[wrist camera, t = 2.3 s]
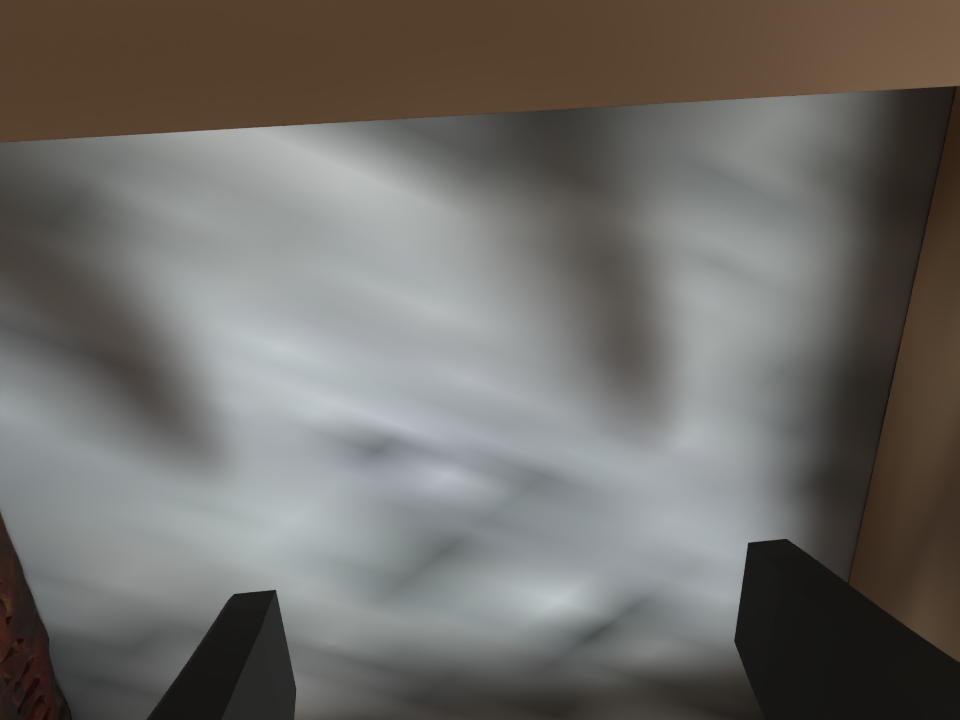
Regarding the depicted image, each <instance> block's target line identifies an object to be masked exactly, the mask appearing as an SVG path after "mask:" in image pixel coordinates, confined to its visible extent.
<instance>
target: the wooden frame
mask: <svg viewBox="0 0 960 720" xmlns="http://www.w3.org/2000/svg"><path fill="white" fill-rule="evenodd" d="M947 86H957V88H956V93H955V97H954V102H953V107H952V111H951V116H950V120H949V125H948V130H947V134H946V139H945V143H944V148H943V152H942V157H941V162H940V166H939V171H938V175H937V180H936V185H935V189H934V194H933V198H932V203H931V208H930V212H929V217H928V221H927V226H926V230H925V235H924V240H923V244H922V249H921V253H920V258H919V263H918V267H917V272H916V276H915V281H914V285H913V290H912V295H911V299H910V304H909V308H908V313H907V318H906V322H905V327H904V331H903V336H902V340H901V345H900V350H899V354H898V359H897V363H896V368H895V373H894V377H893V382H892V386H891V391H890V395H889V400H888V405H887V409H886V414H885V418H884V423H883V428H882V432H881V437H880V441H879V446H878V450H877V455H876V460H875V464H874V469H873V473H872V478H871V483H870V487H869V492H868V496H867V501H866V506H865V510H864V515H863V519H862V524H861V528H860V533H859V538H858V542H857V547H856V551H855V556H854V561H853V565H852V570H851V574H850V579H849V583H848V584H849V585H850V586H852V587H853V588H854V589H856V590H857V591H858V592H860V593H861V594H862V595H864V596H865V597H867V598H868V599H869V600H871V601H872V602H873V603H875V604H876V605H878V606H879V607H880V608H882V609H883V610H884V611H886V612H887V613H889V614H890V615H891V616H893V617H894V618H896V619H897V620H898V621H900V622H901V623H903V624H904V625H905V626H907V627H908V628H910V629H911V630H912V631H914V632H915V633H917V634H918V635H920V636H921V637H922V638H924V639H925V640H927V641H928V642H930V643H931V644H933V645H934V646H936V647H937V648H939V649H940V650H942V651H943V652H945V653H946V654H947V655H949V656H951V657H952V658H954V659H955V660H957V661H958V662H960V0H0V142H17V141H34V140H51V139H67V138H84V137H101V136H118V135H135V134H152V133H169V132H186V131H203V130H220V129H237V128H253V127H270V126H287V125H304V124H321V123H338V122H355V121H372V120H389V119H406V118H423V117H440V116H456V115H473V114H490V113H507V112H524V111H541V110H558V109H575V108H592V107H609V106H626V105H643V104H659V103H676V102H693V101H710V100H727V99H744V98H761V97H778V96H795V95H812V94H829V93H845V92H862V91H879V90H896V89H913V88H930V87H947Z"/></svg>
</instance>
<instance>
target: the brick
mask: <svg viewBox="0 0 960 720" xmlns="http://www.w3.org/2000/svg"><path fill="white" fill-rule="evenodd" d="M0 720H71V712H70V709H69V707H68V705H67V703H66V701H65V700H64V698H63V697H62V695H61V694H60V691H59V689H58V687H57V685H56V683H55V678H54V672H53V668H52V664H51V660H50V655H49V638H48V635H47V633H46V631H45V629H44V626H43V624H42V622H41V620H40V619H39V617H38V614H37V612H36V609H35V605H34V601H33V598H32V595H31V593H30V591H29V589H28V587H27V584H26V582H25V579H24V575H23V571H22V567H21V565H20V563H19V560H18V558H17V556H16V553H15V551H14V549H13V546H12V544H11V542H10V539H9V537H8V534H7V532H6V529H5V526H4V524H3V521H2V518H1V515H0Z"/></svg>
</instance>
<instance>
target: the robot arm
mask: <svg viewBox="0 0 960 720" xmlns="http://www.w3.org/2000/svg"><path fill="white" fill-rule="evenodd" d="M734 642H735V644H736V647H737V650H738V652H739V655H740V658H741V660H742V663H743V666H744V668H745V671H746V674H747V676H748V679H749V681H750V684H751V686H752V689H753V691H754V694H755V696H756V698H757V701H758V703H759V706H760V708H761V710H762V712H763V713H764V715H765V717H766V719H767V720H960V662H958V661H957V660H955V659H954V658H952V657H951V656H949V655H947V654H946V653H945V652H943V651H942V650H940V649H939V648H937V647H936V646H934V645H933V644H931V643H930V642H928V641H927V640H925V639H924V638H922V637H921V636H920V635H918V634H917V633H915V632H914V631H912V630H911V629H910V628H908V627H907V626H905V625H904V624H903V623H901V622H900V621H898V620H897V619H896V618H894V617H893V616H891V615H890V614H889V613H887V612H886V611H884V610H883V609H882V608H880V607H879V606H878V605H876V604H875V603H873V602H872V601H871V600H869V599H868V598H867V597H865V596H864V595H862V594H861V593H860V592H858V591H857V590H856V589H854V588H853V587H852V586H850V585H849V584H848V583H846V582H845V581H844V580H842V579H841V578H840V577H838V576H837V575H836V574H834V573H833V572H832V571H830V570H829V569H827V568H826V567H825V566H823V565H822V564H821V563H819V562H818V561H817V560H815V559H814V558H813V557H811V556H810V555H809V554H807V553H806V552H804V551H803V550H802V549H800V548H799V547H797V546H796V545H795V544H793V543H792V542H790V541H789V540H787V539H781V540H771V541H761V542H751V543H748V549H747V556H746V563H745V570H744V577H743V584H742V591H741V598H740V605H739V612H738V619H737V626H736V633H735V640H734ZM295 699H296V686H295V681H294V676H293V671H292V666H291V661H290V656H289V652H288V647H287V642H286V637H285V632H284V627H283V622H282V617H281V613H280V608H279V603H278V598H277V593H276V590H270V591H260V592H250V593H240V594H234V595H233V596H232V597H231V598H230V599H229V600H228V601H227V603H226V604H225V606H224V607H223V609H222V610H221V612H220V614H219V615H218V617H217V618H216V620H215V621H214V623H213V624H212V626H211V628H210V629H209V631H208V632H207V634H206V635H205V637H204V638H203V640H202V641H201V643H200V644H199V646H198V647H197V649H196V650H195V652H194V653H193V655H192V656H191V658H190V659H189V661H188V662H187V664H186V665H185V666H184V668H183V669H182V671H181V672H180V674H179V675H178V677H177V678H176V679H175V681H174V682H173V684H172V685H171V686H170V688H169V689H168V691H167V692H166V693H165V695H164V696H163V697H162V699H161V700H160V702H159V703H158V704H157V706H156V707H155V709H154V710H153V711H152V713H151V714H150V716H149V717H148V718H147V720H294V712H295Z"/></svg>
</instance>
